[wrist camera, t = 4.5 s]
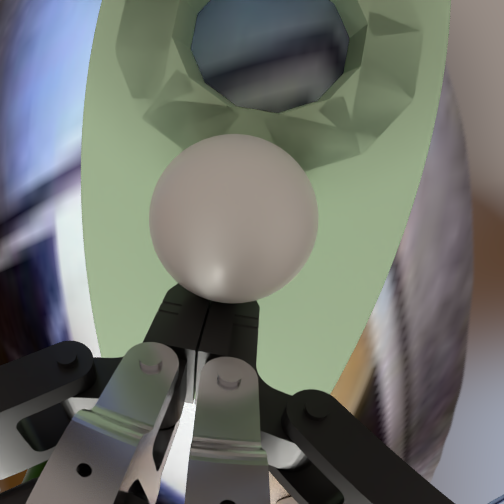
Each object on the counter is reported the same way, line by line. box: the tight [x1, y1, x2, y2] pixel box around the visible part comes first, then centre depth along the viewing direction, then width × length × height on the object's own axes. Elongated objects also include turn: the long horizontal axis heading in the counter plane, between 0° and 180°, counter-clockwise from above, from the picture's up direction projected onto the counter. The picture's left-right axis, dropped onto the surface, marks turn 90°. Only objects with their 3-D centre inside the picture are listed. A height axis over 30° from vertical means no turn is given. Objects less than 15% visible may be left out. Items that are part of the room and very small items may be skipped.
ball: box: [149, 134, 319, 303], centre depth 8 cm, size 4×4×4 cm
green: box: [81, 0, 451, 399], centre depth 11 cm, size 24×12×2 cm, turn 171°
